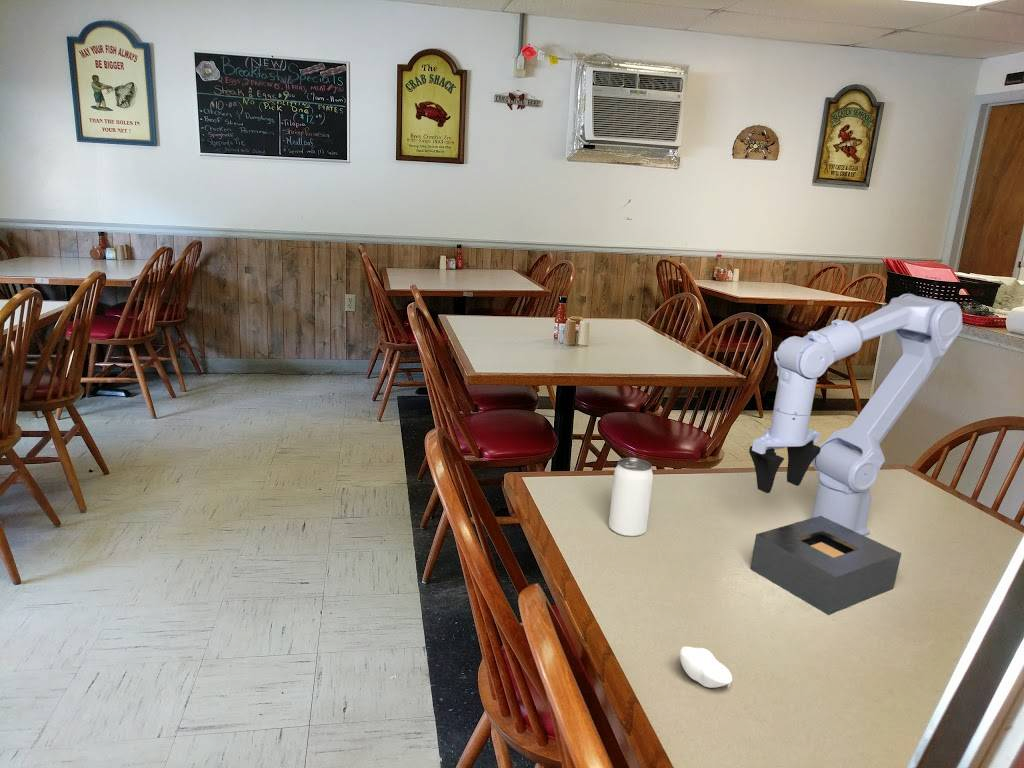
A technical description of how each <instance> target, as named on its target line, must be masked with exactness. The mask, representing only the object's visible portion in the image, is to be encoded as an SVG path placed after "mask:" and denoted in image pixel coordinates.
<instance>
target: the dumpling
mask: <svg viewBox="0 0 1024 768" xmlns="http://www.w3.org/2000/svg"><path fill="white" fill-rule="evenodd" d="M679 660H680V663H681V665H682V668H683V670H684V671H685V673H686V674H687V675H688V677H690V678H691V679H692V680H693V681H695V682H697V683H699V684H700V685H702V686H703V687H705V688H709V689H711V688H719V687H725V686H727V685H728V686H727V687H728V688H729V687H730V686H731V684H732V682H733V675H732V673H731V671H730V670H729V669H728V667H726V666H725V665H724V664H723V663H722V662H719V660H718V659H716V657H715V655H714V654H713V653H712V652H711V651H710V650H709V649H706V648H704V647H693V646H688V645H687V646H682V647H680V650H679Z"/></svg>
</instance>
